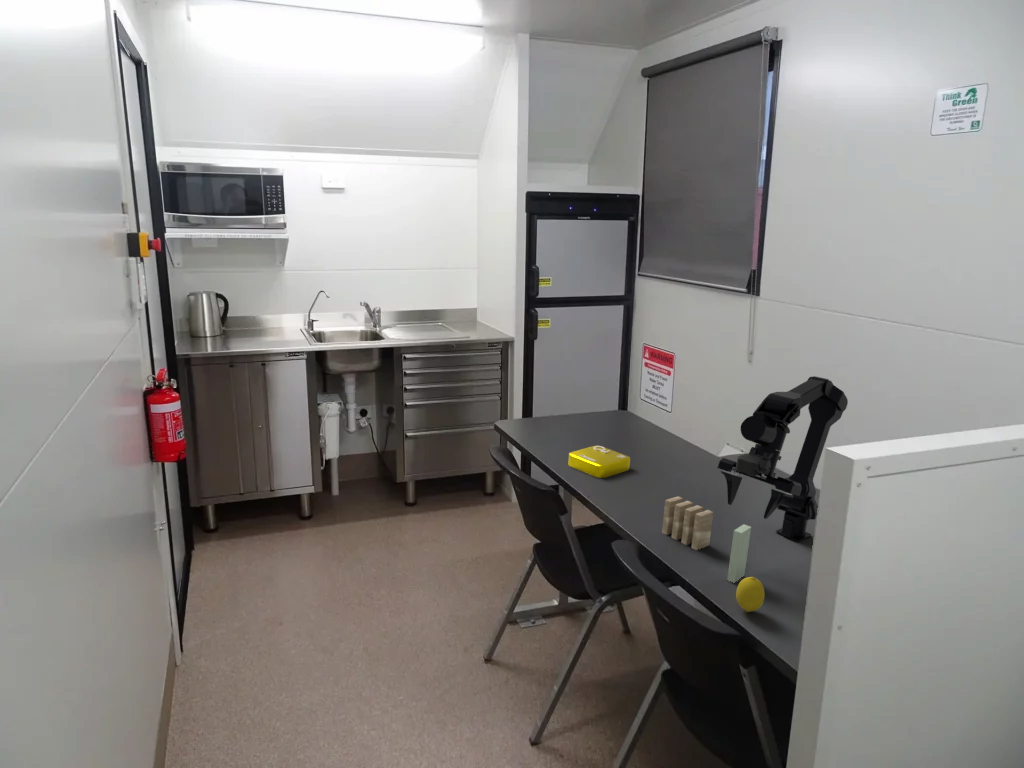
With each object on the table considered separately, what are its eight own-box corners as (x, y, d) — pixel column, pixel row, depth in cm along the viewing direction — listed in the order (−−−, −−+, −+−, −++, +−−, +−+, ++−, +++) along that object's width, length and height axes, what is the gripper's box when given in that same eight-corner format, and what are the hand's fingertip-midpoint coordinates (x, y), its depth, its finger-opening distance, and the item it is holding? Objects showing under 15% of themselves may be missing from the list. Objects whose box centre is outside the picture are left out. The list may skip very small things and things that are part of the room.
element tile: (565, 465, 226) (566, 451, 225) (596, 456, 236) (597, 443, 235) (600, 480, 215) (601, 465, 214) (631, 470, 225) (633, 456, 224)
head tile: (727, 580, 159) (733, 530, 156) (736, 573, 163) (743, 524, 160) (734, 583, 158) (741, 533, 155) (744, 576, 161) (751, 526, 158)
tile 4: (661, 532, 181) (665, 500, 179) (674, 528, 184) (678, 496, 182) (666, 534, 180) (670, 502, 178) (679, 530, 183) (682, 498, 181)
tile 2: (681, 542, 176) (685, 509, 174) (693, 537, 179) (697, 505, 177) (686, 545, 175) (690, 511, 173) (698, 540, 178) (703, 507, 176)
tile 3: (671, 537, 179) (675, 504, 177) (683, 533, 182) (687, 500, 179) (676, 539, 178) (680, 506, 175) (688, 535, 180) (692, 502, 178)
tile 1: (691, 547, 174) (695, 514, 172) (703, 543, 177) (708, 509, 175) (696, 550, 173) (700, 516, 170) (709, 545, 176) (713, 512, 173)
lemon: (755, 604, 150) (761, 570, 148) (765, 619, 144) (771, 584, 142) (730, 604, 150) (735, 569, 148) (739, 618, 144) (744, 583, 142)
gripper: (716, 430, 165) (695, 494, 165) (791, 454, 151) (768, 523, 151) (738, 438, 172) (718, 499, 172) (812, 461, 159) (790, 527, 159)
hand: (746, 511), depth 164 cm, fingers open, 9 cm apart
